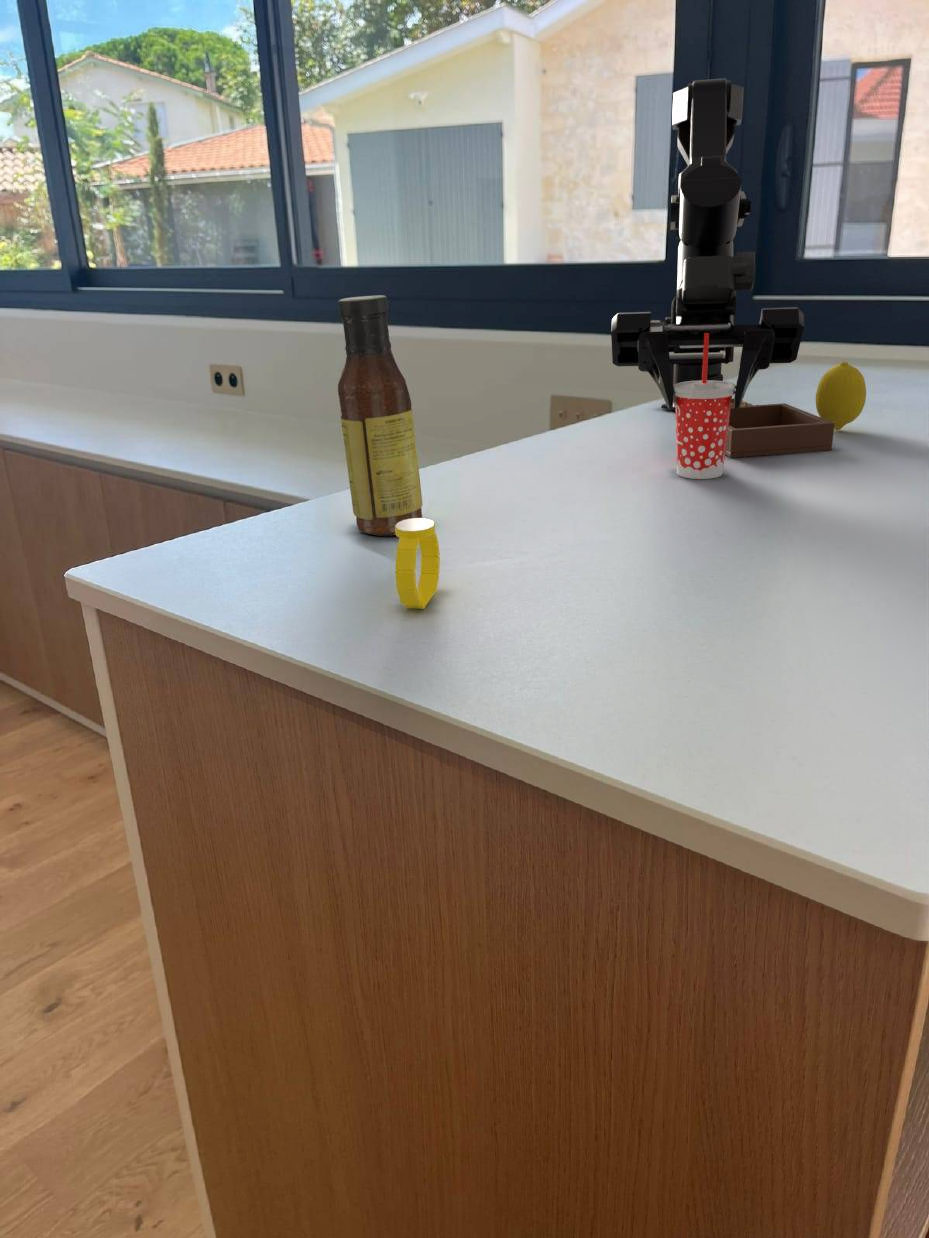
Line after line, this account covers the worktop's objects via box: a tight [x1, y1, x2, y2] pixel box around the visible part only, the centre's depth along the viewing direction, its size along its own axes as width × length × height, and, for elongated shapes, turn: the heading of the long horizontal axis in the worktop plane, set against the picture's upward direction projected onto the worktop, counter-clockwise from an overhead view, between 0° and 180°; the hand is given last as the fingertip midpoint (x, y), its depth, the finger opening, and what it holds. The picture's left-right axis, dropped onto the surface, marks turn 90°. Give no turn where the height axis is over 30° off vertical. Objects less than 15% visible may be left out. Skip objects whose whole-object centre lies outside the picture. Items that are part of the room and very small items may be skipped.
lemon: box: [815, 361, 867, 431], centre depth 112 cm, size 6×6×8 cm
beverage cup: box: [673, 333, 736, 480], centre depth 95 cm, size 6×6×14 cm
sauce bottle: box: [337, 295, 423, 537], centre depth 82 cm, size 6×6×20 cm
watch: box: [394, 517, 441, 610], centre depth 67 cm, size 6×3×6 cm, turn 165°
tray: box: [725, 402, 835, 459], centre depth 109 cm, size 13×12×3 cm
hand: (703, 407), depth 94 cm, fingers closed on beverage cup, 6 cm apart
